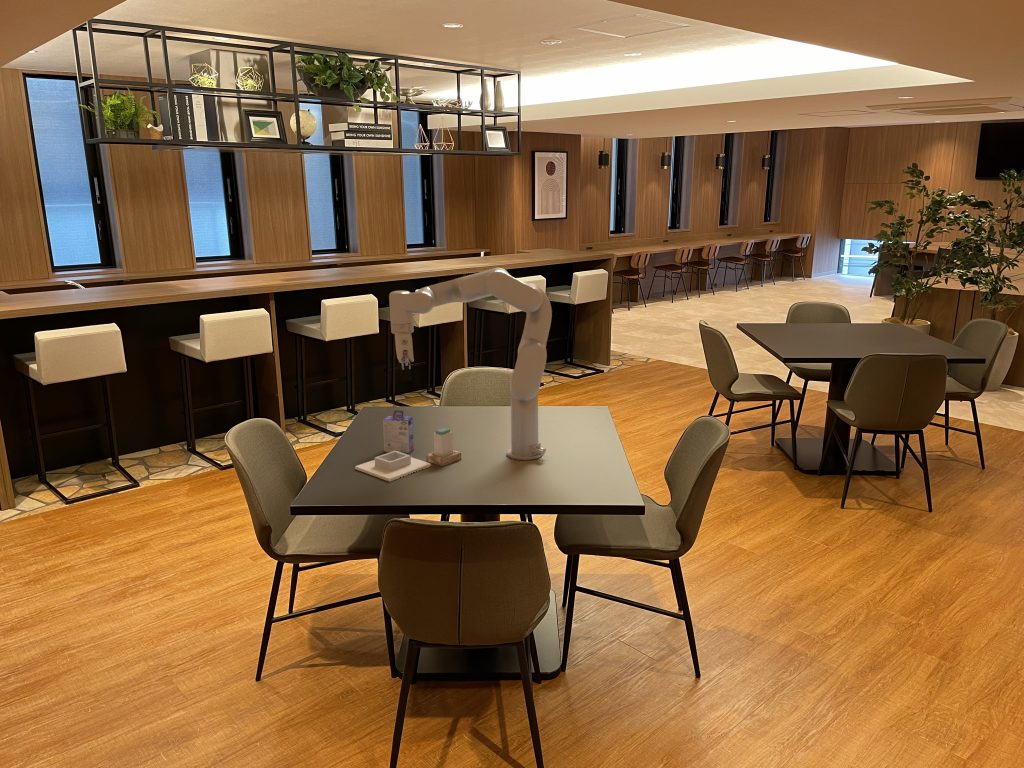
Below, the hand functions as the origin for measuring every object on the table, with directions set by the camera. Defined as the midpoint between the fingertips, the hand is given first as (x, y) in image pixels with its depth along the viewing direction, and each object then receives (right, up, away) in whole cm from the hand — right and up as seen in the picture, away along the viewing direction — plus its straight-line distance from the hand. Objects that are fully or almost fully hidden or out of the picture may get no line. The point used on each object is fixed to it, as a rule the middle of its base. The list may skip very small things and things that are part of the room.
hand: (405, 377), depth 265 cm
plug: (+13, -29, +3) cm, 32 cm away
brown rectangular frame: (+13, -29, +3) cm, 32 cm away
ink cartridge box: (-4, -26, +14) cm, 30 cm away
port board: (-4, -31, -3) cm, 31 cm away
